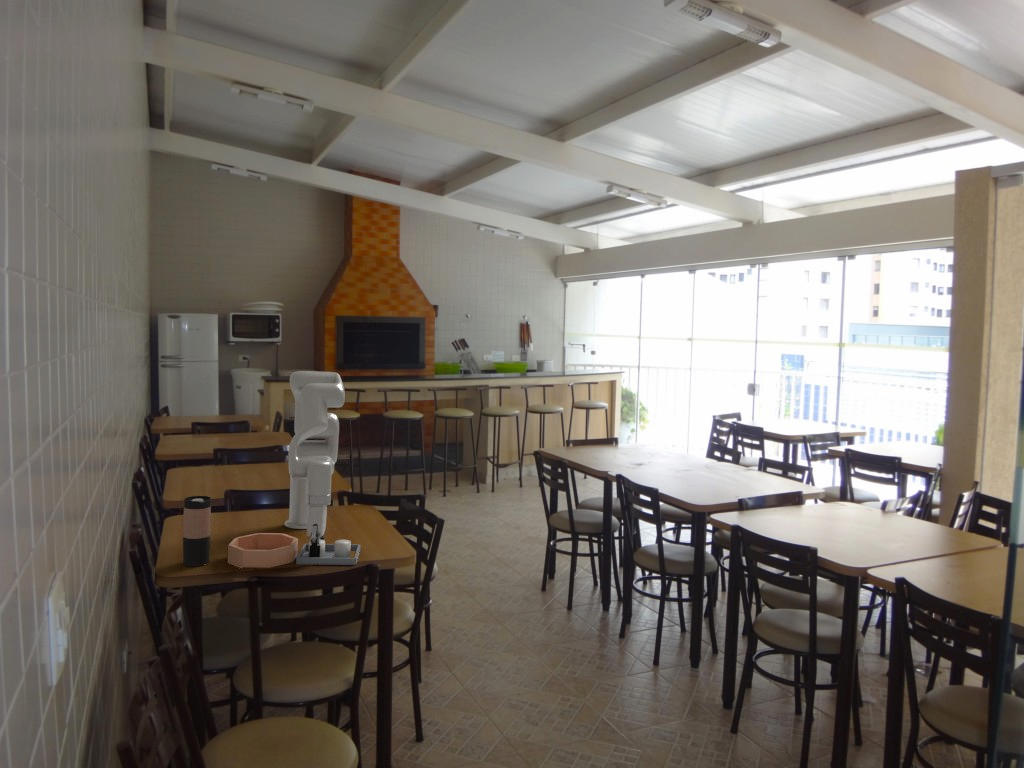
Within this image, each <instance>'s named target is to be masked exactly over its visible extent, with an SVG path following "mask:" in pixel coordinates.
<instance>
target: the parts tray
mask: <svg viewBox="0 0 1024 768" xmlns="http://www.w3.org/2000/svg"><path fill="white" fill-rule="evenodd" d="M334 548H335V543H325V557H308V552H309V543H304V544H303V546H302V547H301V549H300V551H298V554H297V556H296V558H295V561H296V562H295V564H296V565H304V566H305V565H313V566H314V565H316V566H317V564H318V565H320V566H322V565H323V566H328V565H330V566H333V565H334V566H335V565H336V566H356V565H357V563H358V560H359V557H360V553H359V552H361V544H355V543H354V544H352V543H351V551H356V554H355V557H354V558H332V557H334V556H333V555H334ZM358 556H359V557H358ZM357 559H358V560H357Z"/></svg>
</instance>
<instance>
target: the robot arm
mask: <svg viewBox="0 0 1024 768" xmlns="http://www.w3.org/2000/svg"><path fill="white" fill-rule="evenodd" d="M289 385H290V390H291V393H292V395H293V398H294V404H295V405H294V424H293V425H294V426H293V428H294V430H293V431H294V433H295V434H294V436H293V437H292V438H291V440H290V442H289V444H288V445H289V447H288V458H287V459H288V473H289V476H290V478H289V479H290V483H289V514H288V515H289V517H288V519H287V520H285V521H284V526H285V527H286V528H289V529H294V530H306V535H305V536H306V537H307V538H310V540H309V541H310V548H309V557H320V545H319V544H320V539H321V540H325V531H326V527H327V516H328V515H327V513H328V507H327V506H330V505H331V501H332V500H331V498H332V497H331V496H332V475H333V474H334V473H335V464H336V463H337V460H338V453H339V435H340V421H339V418H338V415H336V414H335V413H333V412H328V409H329V408H332V409H334V408H337V409H338V408H342V407H343V406H344V404H345V401H346V394H345V393H346V392H345V387H344V383H343V380H342V378H341V375H340V374H339V373H338V372H335V371H334V372H333V371H318V370H317V371H316V370H299V371H294V372H292V373H291V374H290V377H289ZM309 439H310V440H309ZM311 439H316V440H311ZM318 439H319V440H318ZM320 439H324V440H320ZM317 539H318V541H317Z"/></svg>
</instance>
